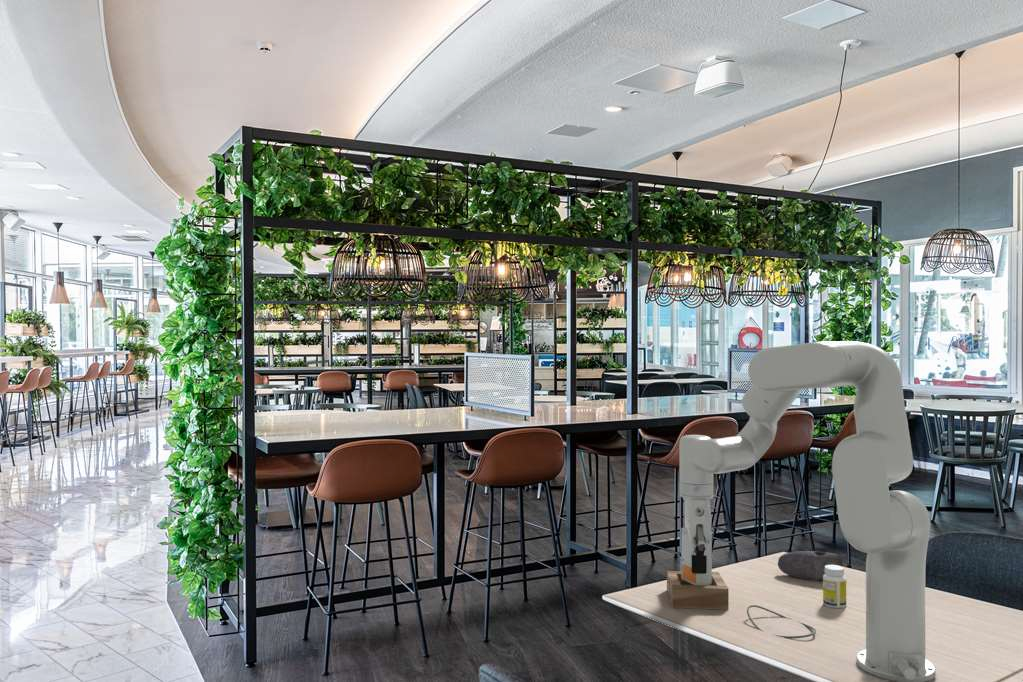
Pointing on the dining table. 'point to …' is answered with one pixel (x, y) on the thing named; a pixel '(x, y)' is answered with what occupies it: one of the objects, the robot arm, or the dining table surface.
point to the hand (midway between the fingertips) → (696, 567)
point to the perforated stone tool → (808, 563)
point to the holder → (697, 592)
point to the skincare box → (687, 561)
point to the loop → (781, 616)
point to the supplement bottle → (834, 587)
